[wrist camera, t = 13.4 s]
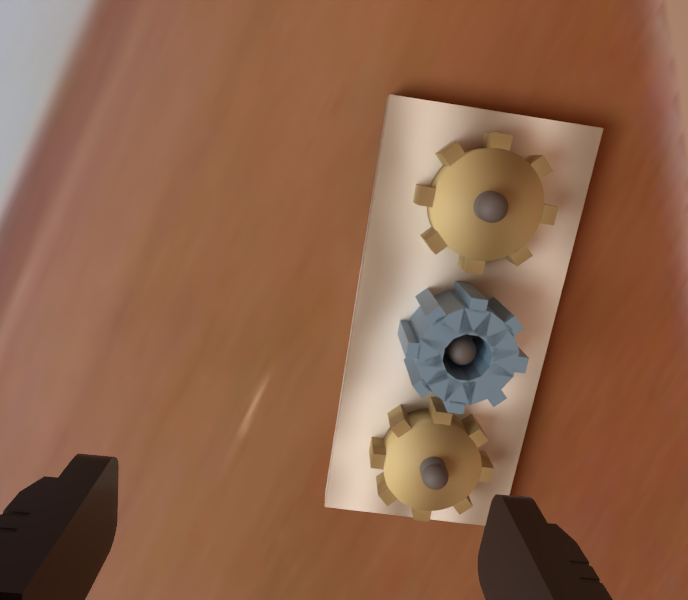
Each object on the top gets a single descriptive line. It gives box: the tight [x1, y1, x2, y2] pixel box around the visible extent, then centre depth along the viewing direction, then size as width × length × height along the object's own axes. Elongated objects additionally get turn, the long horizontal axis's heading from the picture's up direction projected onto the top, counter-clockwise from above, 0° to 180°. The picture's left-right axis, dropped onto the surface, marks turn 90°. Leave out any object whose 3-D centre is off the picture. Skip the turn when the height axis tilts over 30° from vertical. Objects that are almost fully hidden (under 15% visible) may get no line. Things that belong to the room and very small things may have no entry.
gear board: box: [325, 94, 603, 526], centre depth 32 cm, size 12×26×5 cm, turn 172°
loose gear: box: [397, 281, 529, 414], centre depth 31 cm, size 7×7×4 cm
